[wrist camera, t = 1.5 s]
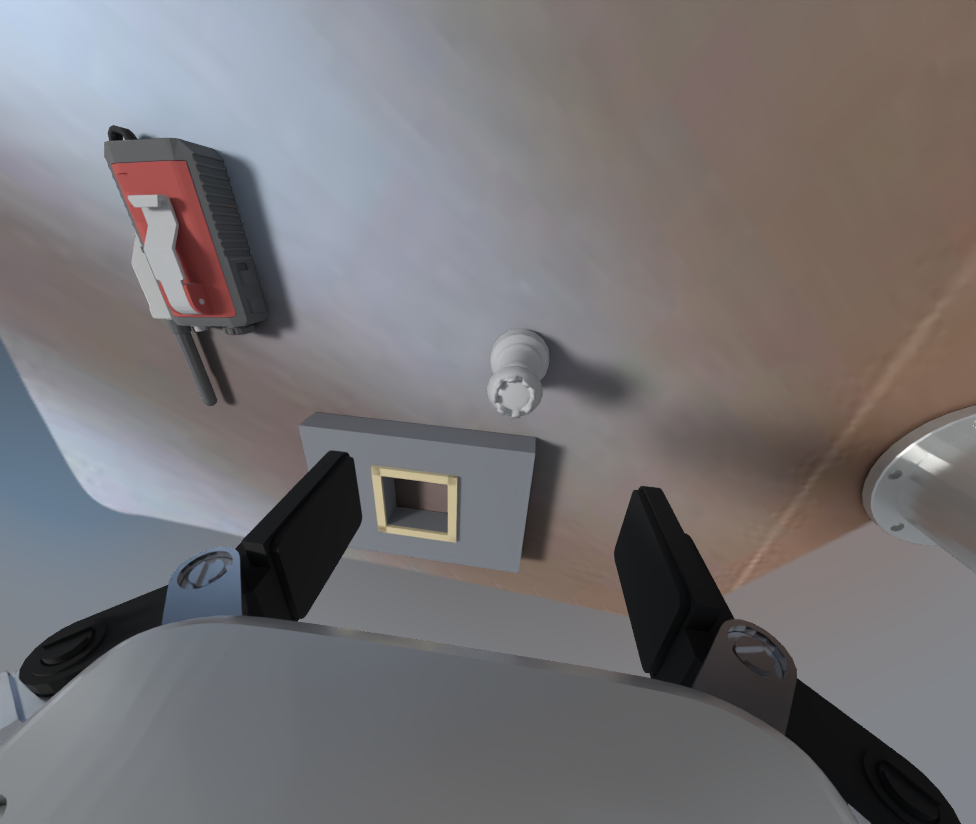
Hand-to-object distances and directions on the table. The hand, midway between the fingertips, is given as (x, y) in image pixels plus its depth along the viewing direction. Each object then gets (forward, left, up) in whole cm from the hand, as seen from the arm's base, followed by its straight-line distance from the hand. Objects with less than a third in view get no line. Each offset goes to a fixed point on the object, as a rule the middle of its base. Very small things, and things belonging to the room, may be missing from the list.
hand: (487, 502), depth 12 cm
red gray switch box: (+24, -3, -17) cm, 30 cm away
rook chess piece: (0, 0, -17) cm, 17 cm away
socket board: (+8, +14, -17) cm, 23 cm away
